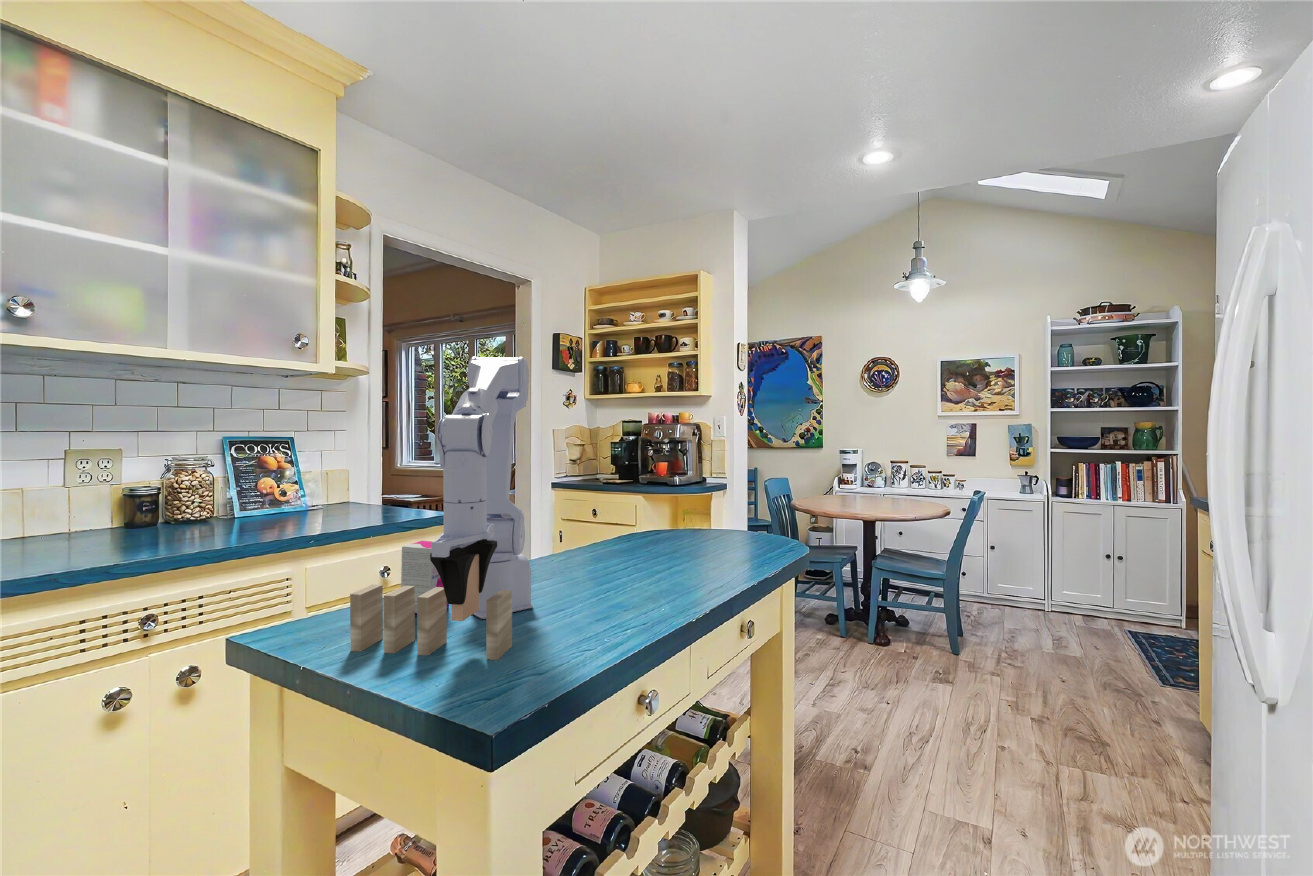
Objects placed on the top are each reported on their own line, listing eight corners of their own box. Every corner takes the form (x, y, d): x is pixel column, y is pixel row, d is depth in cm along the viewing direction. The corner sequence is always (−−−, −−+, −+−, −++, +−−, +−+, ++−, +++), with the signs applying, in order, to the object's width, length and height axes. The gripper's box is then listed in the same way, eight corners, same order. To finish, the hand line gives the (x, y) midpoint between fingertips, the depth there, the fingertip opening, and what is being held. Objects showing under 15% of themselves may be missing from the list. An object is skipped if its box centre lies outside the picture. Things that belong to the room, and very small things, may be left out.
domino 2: (414, 640, 85) (414, 586, 85) (394, 653, 80) (394, 596, 80) (404, 639, 86) (404, 585, 85) (384, 652, 81) (383, 595, 80)
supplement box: (431, 617, 95) (431, 548, 95) (399, 615, 96) (399, 546, 96) (450, 607, 101) (450, 541, 101) (420, 604, 102) (419, 539, 102)
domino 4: (479, 609, 84) (478, 554, 84) (462, 621, 79) (462, 562, 79) (468, 609, 84) (468, 554, 84) (451, 620, 79) (451, 561, 79)
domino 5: (512, 646, 83) (511, 590, 83) (497, 660, 78) (497, 601, 78) (501, 645, 83) (501, 590, 83) (486, 659, 78) (486, 600, 78)
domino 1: (382, 638, 86) (382, 584, 86) (361, 651, 81) (360, 594, 81) (372, 638, 86) (372, 584, 86) (350, 651, 81) (350, 594, 81)
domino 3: (446, 642, 85) (446, 587, 84) (428, 655, 80) (428, 597, 79) (436, 641, 85) (436, 587, 85) (417, 655, 80) (417, 597, 80)
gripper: (468, 508, 73) (468, 615, 74) (512, 495, 88) (513, 584, 88) (416, 507, 74) (416, 613, 75) (468, 494, 89) (469, 583, 89)
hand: (465, 597), depth 81 cm, fingers closed on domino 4, 5 cm apart
